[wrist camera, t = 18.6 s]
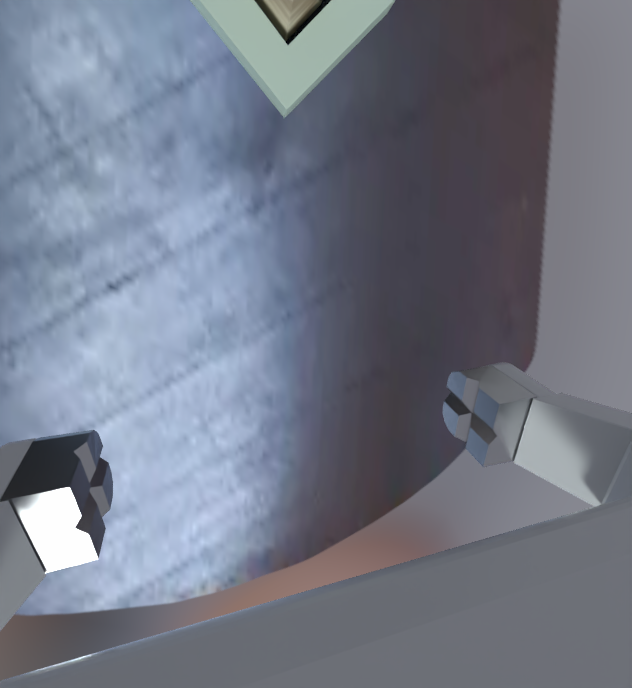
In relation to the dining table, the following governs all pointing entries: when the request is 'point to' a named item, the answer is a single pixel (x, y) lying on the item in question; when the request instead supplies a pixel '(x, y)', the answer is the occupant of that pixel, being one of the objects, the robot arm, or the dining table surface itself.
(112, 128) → the dining table surface
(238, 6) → the socket plate
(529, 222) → the dining table surface
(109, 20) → the dining table surface
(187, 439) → the dining table surface
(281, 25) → the peg
